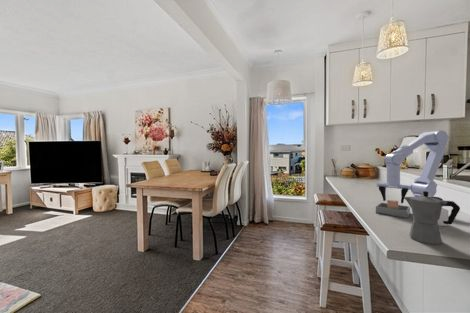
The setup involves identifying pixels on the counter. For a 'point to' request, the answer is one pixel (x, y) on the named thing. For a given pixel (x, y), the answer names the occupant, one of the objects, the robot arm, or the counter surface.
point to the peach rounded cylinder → (392, 204)
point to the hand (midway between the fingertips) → (393, 201)
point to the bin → (393, 210)
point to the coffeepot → (429, 218)
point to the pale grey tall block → (442, 214)
